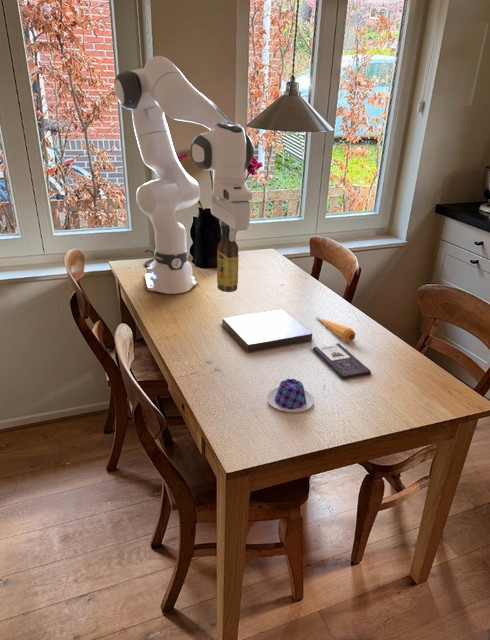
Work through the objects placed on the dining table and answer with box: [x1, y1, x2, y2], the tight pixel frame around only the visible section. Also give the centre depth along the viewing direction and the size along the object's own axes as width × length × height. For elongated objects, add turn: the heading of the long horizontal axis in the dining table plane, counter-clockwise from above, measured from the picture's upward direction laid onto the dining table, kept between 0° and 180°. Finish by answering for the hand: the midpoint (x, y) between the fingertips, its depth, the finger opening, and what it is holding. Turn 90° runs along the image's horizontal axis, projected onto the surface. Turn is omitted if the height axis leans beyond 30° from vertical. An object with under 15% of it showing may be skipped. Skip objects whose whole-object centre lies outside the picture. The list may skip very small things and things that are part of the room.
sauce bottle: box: [216, 222, 239, 293], centre depth 156 cm, size 6×6×20 cm
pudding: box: [266, 378, 315, 413], centre depth 135 cm, size 12×12×5 cm
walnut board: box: [222, 309, 313, 353], centre depth 170 cm, size 20×22×2 cm
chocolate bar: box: [312, 342, 372, 380], centre depth 156 cm, size 9×1×18 cm
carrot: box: [317, 317, 356, 343], centre depth 174 cm, size 20×4×4 cm, turn 27°
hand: (228, 238), depth 153 cm, fingers closed on sauce bottle, 4 cm apart
